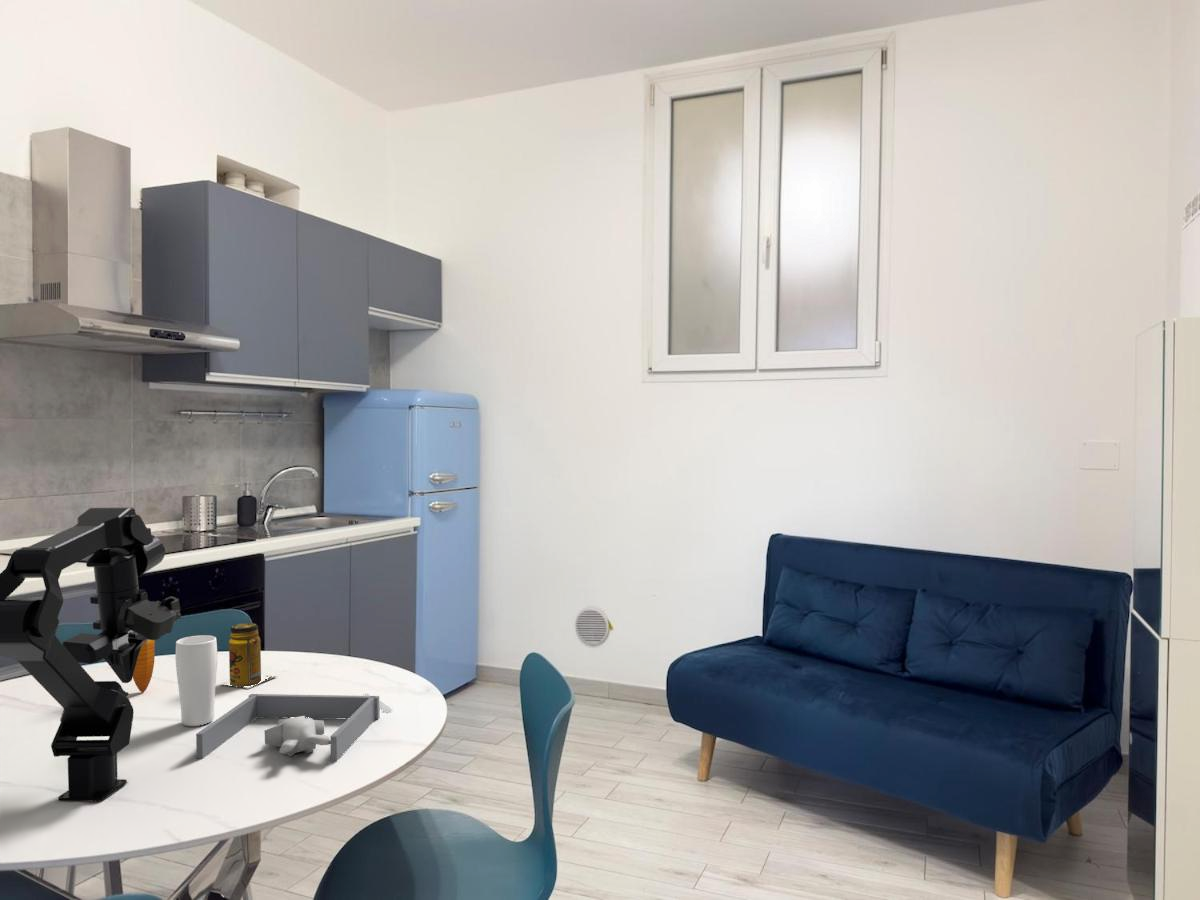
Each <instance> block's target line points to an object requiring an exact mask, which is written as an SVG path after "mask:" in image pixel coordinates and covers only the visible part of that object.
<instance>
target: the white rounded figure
mask: <svg viewBox="0 0 1200 900" xmlns="http://www.w3.org/2000/svg"><path fill="white" fill-rule="evenodd" d="M277 723H278V724H277V725H275V726H273V727H272V726H271V727H270V728H267V729H265V730H264V745H268V746H274V747H275V746H276V747H277V746H278V747H280V748H279V750H278V753H279V754H284V755H288V756H289V757H291V756H290V755H293V756H294V755H295V754H296V753H301V752H305V753H306V752H310V753H311V752H312V751H313V750H315V749H316V748H317V747H316V746H317V745H318V746H328V745H331V742H330V737H329V736H328V735H324V734H325V721H324V720H317V719H314V718H305V716H300V717H294V718H281V719H278V722H277Z"/></svg>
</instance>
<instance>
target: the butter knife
mask: <svg viewBox="0 0 1200 900" xmlns="http://www.w3.org/2000/svg"><path fill="white" fill-rule="evenodd" d="M364 695H365V696H370V695H371V694H369V693H363V694H362V696H364ZM379 707H380V709H381V710H383V712H382V713H384V712H390V713H392V712H393V709H392V708H391V707H390V706H389V705H387V704H386V703H385V702H383V701H381V700H379ZM391 711H392V712H391Z"/></svg>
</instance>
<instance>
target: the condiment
mask: <svg viewBox="0 0 1200 900" xmlns="http://www.w3.org/2000/svg"><path fill="white" fill-rule="evenodd" d="M261 647H262V646H261V637H260V636H259V626H258V624H257V623H253V622H251V623H250V622H246V623H238V624H234V625H233V626H231V627H230V639H229V640H228V650H229V651H228V657H229V658H228V660H229V661H228V662H229V665H228V666H229V668H228V669H229V682H230V685H232V686H237V687H243V688H242V689H247V690H249V689H251V688H253V686H251V685H255V684H258V683H259V682H260V681H261V675H262V662H261V661H262V657H261V656H262V655H261V654H262V653H261V651H262V650H261ZM266 676H267V677H268V676H270V677H269V678H268V680H267V679H265V681H263V683H265V682H267V681H270V680H272V679H274V678H277V676H278V675H274V676H273V675H272V676H273V677H272V676H271V675H266ZM224 686H225V685H224ZM244 686H250V687H244ZM225 687H226V686H225ZM237 687H236V688H237Z"/></svg>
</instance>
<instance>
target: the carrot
mask: <svg viewBox="0 0 1200 900" xmlns="http://www.w3.org/2000/svg"><path fill="white" fill-rule="evenodd" d="M155 643H156V640H149V639H148V640H147V641H146V642H145V643H144V644H143V645H142V647H141V649H140V652H139V655H138V659H137V662H136V666H135V670H134V673H133V677H132V680H133V682H134V684H135V686H136V687H137V689H138V691H140V692H141V693H145V691H147V688H148V687H149V685H150V682H151V679H152V678H153V672H154V667H155V654H156V653H155V652H156V650H155V649H156V648H155V647H156V644H155Z"/></svg>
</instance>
